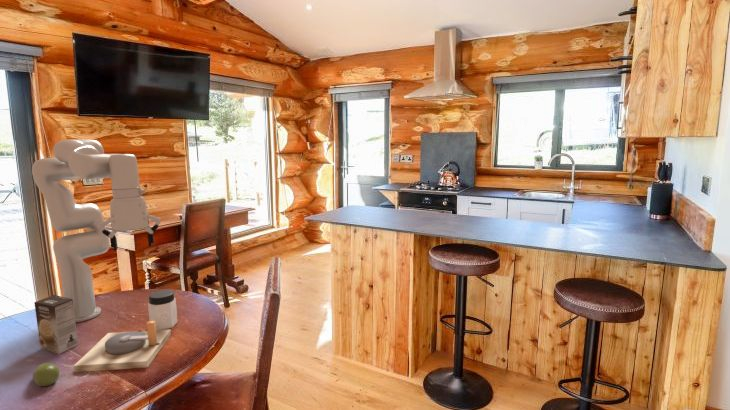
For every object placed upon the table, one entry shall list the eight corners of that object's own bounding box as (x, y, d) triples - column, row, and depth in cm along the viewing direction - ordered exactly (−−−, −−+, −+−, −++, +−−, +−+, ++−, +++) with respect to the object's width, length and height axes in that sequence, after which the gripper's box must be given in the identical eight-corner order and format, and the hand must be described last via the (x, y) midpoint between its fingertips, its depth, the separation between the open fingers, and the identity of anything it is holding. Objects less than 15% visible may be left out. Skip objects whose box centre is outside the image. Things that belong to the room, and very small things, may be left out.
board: (74, 372, 117) (73, 364, 117) (108, 338, 137) (108, 332, 136) (147, 367, 119) (146, 360, 119) (171, 334, 139) (170, 328, 139)
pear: (33, 372, 107) (29, 364, 114) (37, 391, 108) (32, 382, 115) (59, 364, 111) (53, 356, 118) (62, 382, 111) (56, 373, 119)
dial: (98, 355, 122) (95, 333, 120) (115, 338, 132) (113, 317, 131) (150, 352, 123) (147, 330, 122) (163, 335, 134) (161, 314, 133)
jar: (151, 333, 140) (148, 300, 138) (148, 324, 147) (145, 292, 145) (179, 326, 145) (176, 294, 143) (175, 318, 152) (173, 287, 150)
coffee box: (39, 349, 130) (32, 302, 127) (60, 340, 136) (53, 294, 133) (59, 354, 127) (52, 305, 124) (79, 344, 133) (73, 298, 130)
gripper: (158, 190, 133) (164, 241, 135) (96, 195, 126) (103, 248, 128) (157, 193, 126) (163, 246, 129) (91, 197, 119) (99, 254, 121)
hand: (133, 247), depth 128 cm, fingers open, 9 cm apart
